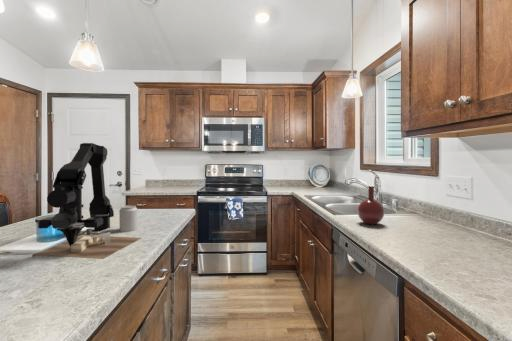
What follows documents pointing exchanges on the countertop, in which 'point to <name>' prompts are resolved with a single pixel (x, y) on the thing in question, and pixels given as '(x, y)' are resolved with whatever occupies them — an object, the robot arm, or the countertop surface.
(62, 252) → the base board
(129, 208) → the can
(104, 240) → the keeper
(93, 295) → the countertop surface
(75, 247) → the link
